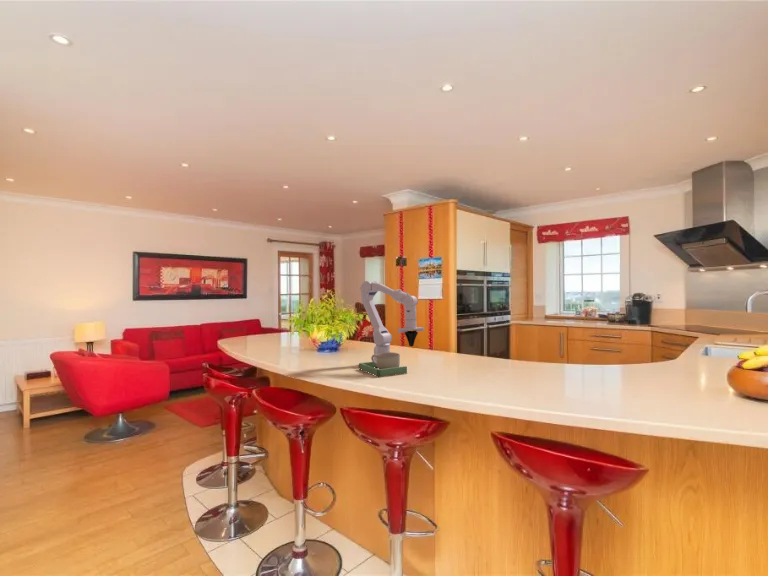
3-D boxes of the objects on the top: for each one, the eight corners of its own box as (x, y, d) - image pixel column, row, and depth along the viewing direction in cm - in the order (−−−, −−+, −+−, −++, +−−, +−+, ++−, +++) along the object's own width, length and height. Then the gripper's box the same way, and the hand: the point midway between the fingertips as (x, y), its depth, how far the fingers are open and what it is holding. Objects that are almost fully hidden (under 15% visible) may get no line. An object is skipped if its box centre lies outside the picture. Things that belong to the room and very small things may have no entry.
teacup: (404, 370, 181) (404, 353, 181) (392, 374, 172) (392, 356, 172) (379, 367, 188) (379, 351, 188) (367, 371, 179) (366, 354, 179)
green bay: (359, 369, 185) (359, 363, 185) (386, 366, 191) (386, 360, 191) (377, 377, 167) (377, 370, 167) (407, 373, 173) (406, 366, 173)
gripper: (402, 320, 188) (402, 348, 188) (427, 318, 195) (427, 345, 194) (395, 319, 194) (395, 346, 194) (419, 318, 201) (420, 344, 201)
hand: (411, 346), depth 195 cm, fingers closed
